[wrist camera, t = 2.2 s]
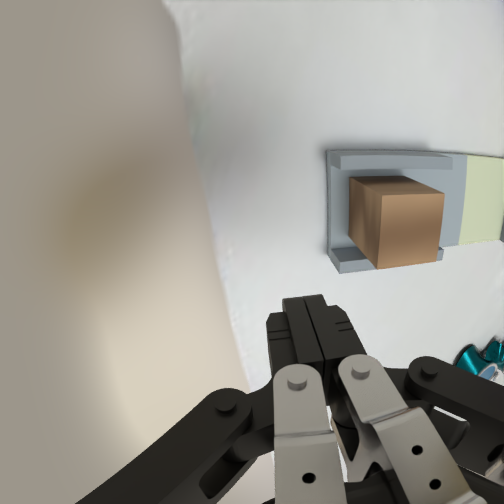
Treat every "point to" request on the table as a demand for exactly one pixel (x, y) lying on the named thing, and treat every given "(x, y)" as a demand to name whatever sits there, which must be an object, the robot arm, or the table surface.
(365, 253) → the block
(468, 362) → the glasses
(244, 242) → the table surface
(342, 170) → the chute
